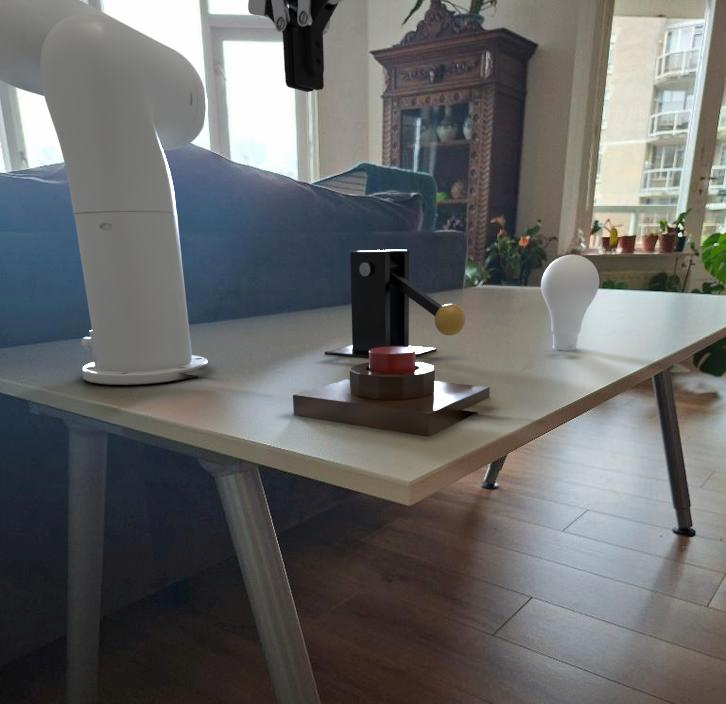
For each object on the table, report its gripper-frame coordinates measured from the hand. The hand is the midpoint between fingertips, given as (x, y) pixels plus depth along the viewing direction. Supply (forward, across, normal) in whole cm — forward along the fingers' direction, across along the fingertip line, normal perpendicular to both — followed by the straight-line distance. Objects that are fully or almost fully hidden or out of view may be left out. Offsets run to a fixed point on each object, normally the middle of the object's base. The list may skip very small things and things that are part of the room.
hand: (305, 87), depth 56 cm
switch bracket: (+25, -1, +13) cm, 28 cm away
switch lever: (+19, +3, +13) cm, 23 cm away
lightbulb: (+25, +16, +25) cm, 39 cm away
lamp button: (+22, +13, -7) cm, 26 cm away
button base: (+25, +13, -7) cm, 29 cm away
